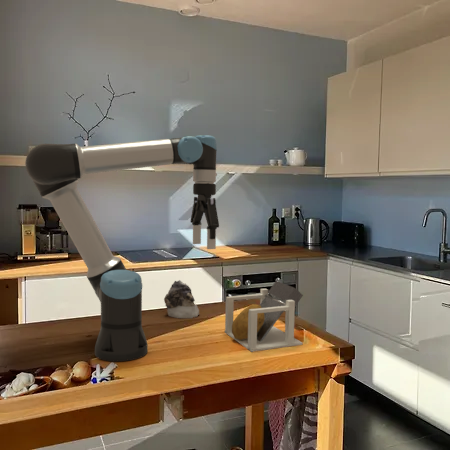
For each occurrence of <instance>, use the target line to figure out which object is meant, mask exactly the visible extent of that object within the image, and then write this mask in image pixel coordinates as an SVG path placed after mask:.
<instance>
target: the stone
mask: <svg viewBox="0 0 450 450" xmlns="http://www.w3.org/2000/svg"><path fill="white" fill-rule="evenodd" d="M163 300H164V301H163V302H164V304H165V305H164V306H165V307H166V309H167V311H166V313H167V315H168V317H171V318H175V319H194V318H197V317H198V315H200V309H199V308H198V305H197V304H196V303H195V302H196V301H195V298H194V295H193V293H192V289H191V287H190V286H189V285H188V284H187V283H184V282H183V281H182V280H180V279H179V280H174V282H173V283H172V284H171V286H170V288H169V290H168V293H166V295H165V297H164V299H163ZM193 317H194V318H193Z"/></svg>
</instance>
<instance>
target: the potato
mask: <svg viewBox="0 0 450 450" xmlns="http://www.w3.org/2000/svg"><path fill="white" fill-rule="evenodd" d="M258 308H261V306H260V304H256V303H253V304H249V306H247V307H246V308H244V309H243V310H242V311H240V312H239V314H237V316H236V317H235V319H233V324H232V334H233V336H234V337H235V339H239V340H242V339H247V338H248V312H249V309H258ZM264 320H265V318H264V313H257V332H258V331H259V330H260V328H261V326H262V325H263V323H264Z"/></svg>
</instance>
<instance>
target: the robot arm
mask: <svg viewBox="0 0 450 450" xmlns="http://www.w3.org/2000/svg"><path fill="white" fill-rule="evenodd" d="M217 151H218V149H217V138H216V137H215V136H213V135H208V134H207V135H206V134H205V135H204V134H203V135H194V136H191V135H185V136H183V137H174V138H162V139H153V140H140V141H130V142H121V143H119V142H118V143H110V144H109V143H107V144H106V143H105V144H97V145H85V146H80V145H79V144H77V143H41V144H38V145H36V146H34V147H32V148H31V150H29V152H28V153H27V155H26V158H25V162H24V163H25V164H24V165H25V169H26V172H27V174H28V176H29V177H30V178H31V180H32V183H34V186H35V187H36V190H37V191H38V193H39V194H40V196H41V197H42V199H45V200H48V201H50V203H51V205H52V207H53V209H54V210H55V212H56V214H57V216H58V217H59V219H60V221H61V223H62V224H63V226H64V228H65V230H66V231H67V233H68V236H69V237H70V240H71V242H73V245H74V246H75V247H76V250H77V251H78V253H79V255H80V257H81V258H82V260H83V262H84V264H85V266H86V267H87V268H86V269H87V272H86V278H87V280H88V282H89V283H90V285H91V287H92V288H93V291H94V293H95V295H96V297H97V298H98V300H99V302H100V330H99V332H98V335H97V339H96V342H95V344H94V345H95V346H94V356H95V357H96V358H97V359H100V360H103V361H106V362H107V361H108V362H127V361H132V360H138V359H140V358H142V357H144V356H146V355H147V354H148V347H149V346H148V341H147V337H146V335H145V332H144V329H143V326H142V325H143V323H142V322H143V321H142V319H143V318H142V316H143V314H142V313H143V312H142V311H143V310H142V307H143V305H142V303H143V300H142V296H143V294H142V293H143V282H142V277H141V275H140V273H138V272H136V271H132V270H128V269H127V268H126V267H125V264H124V263H123V261H122V259H121V257H118V256H115V255H113V253H112V251H111V249H110V247H109V246H108V244H107V241H106V239H105V238H104V236H103V233H102V232H101V230H100V229H99V227H98V224H97V223H96V221H95V220H94V217H93V215H92V213H91V211H90V210H89V208H88V206H87V204H86V203H85V201H84V199H83V197H82V195H81V193H80V191H79V190H78V188H77V186H78V183H79V179H82V178H83V177H84V176H85V175H89V174H98V173H107V172H115V171H123V170H132V169H140V168H141V169H142V168H151V167H159V166H168V165H192V166H193V169H192V171H193V172H192V180H193V181H192V182H194V183H193V186H192V189H193V191H192V193H193V195H195V196H194V197H193V204H192V205H193V206H192V210H191V216H190V223H192V245H201V243H202V241H201V240H202V239H201V238H202V219H203V215H205V220H206V223H207V226H206V231H207V232H206V249H207V250H216V248H217V247H216V245H217V243H216V241H217V240H216V239H217V235H216V234H217V228H220V222H219V217H218V209H217V202H216V198H215V197H212V196H215V195H216V194H217V191H216V189H217V188H216V187H217V185H216V183H215V182H216V181H217V180H216V179H217V176H218V174H217ZM196 195H197V196H196Z"/></svg>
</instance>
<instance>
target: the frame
mask: <svg viewBox="0 0 450 450" xmlns="http://www.w3.org/2000/svg"><path fill="white" fill-rule="evenodd" d="M259 290H260V293H255V294H244V295H234V296H233V295H232V296H226V297H225V313H224V314H225V316H224V317H225V318H224V319H225V321H224V322H225V324H224V326H225V327H224V328H225V329H224V333H225V334H226V335H228V336H229V337H230V338H232V339H233V340H235V341H236V342H237V343H239V344H240V345H242V347H244V348H245V349H247V350H248V351H249V352H251V353H252V352H253V353H254V352H260V351H267V350H273V349H280V348H286V347H287V348H288V347H295V346H301V345H303V344H304V342H302V341H300V340H298V339H297V338H295V316H296V315H295V312H296V311H295V310H296V308H295V307H296V306H295V301H293V300H286V306H278V307H268V308H258V309H249V312H248V338H247V339H242V340H239V339H235V337H234V336H233V334H232V324H233V321H234V306H235V305H234V303H235V301H242V300H251V299H252V300H253V299H259V305H260V304H261V303H262V301H263V300H264V298H265V295H266V294H267V295H269V293H268V291H269V289H267V288H260V289H259ZM275 311H284V312H285V319H284V321H285V322H284V324H285V325H284V331H282V330H281V329H279V328H277V327H276V326H274V325H273V327H272V328H271V330H270V331H269V332H268V334H267V335H266V336H265V338H264V339H263V341H262V342H260V341H258V340H257V313H266V312H275Z"/></svg>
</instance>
